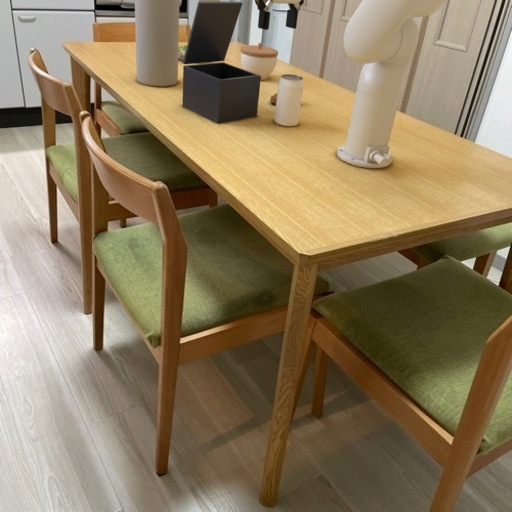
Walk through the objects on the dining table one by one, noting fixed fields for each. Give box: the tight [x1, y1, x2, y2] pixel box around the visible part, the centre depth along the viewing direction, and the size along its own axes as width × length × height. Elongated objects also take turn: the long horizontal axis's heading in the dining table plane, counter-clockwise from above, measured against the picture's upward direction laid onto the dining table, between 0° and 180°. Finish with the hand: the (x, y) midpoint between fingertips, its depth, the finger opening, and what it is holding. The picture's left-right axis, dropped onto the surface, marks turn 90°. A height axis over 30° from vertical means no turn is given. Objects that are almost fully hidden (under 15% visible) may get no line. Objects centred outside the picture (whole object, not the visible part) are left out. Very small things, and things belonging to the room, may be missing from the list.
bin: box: [181, 61, 262, 124], centre depth 138 cm, size 16×14×11 cm
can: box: [273, 73, 305, 128], centre depth 135 cm, size 6×6×12 cm
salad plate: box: [178, 45, 187, 62], centre depth 191 cm, size 19×18×5 cm
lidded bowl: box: [239, 42, 279, 81], centre depth 175 cm, size 13×13×11 cm
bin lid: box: [182, 0, 243, 65], centre depth 135 cm, size 16×14×5 cm
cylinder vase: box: [134, 0, 180, 88], centre depth 154 cm, size 12×12×25 cm
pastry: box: [269, 92, 278, 105], centre depth 153 cm, size 9×7×4 cm
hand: (277, 28), depth 128 cm, fingers open, 9 cm apart
